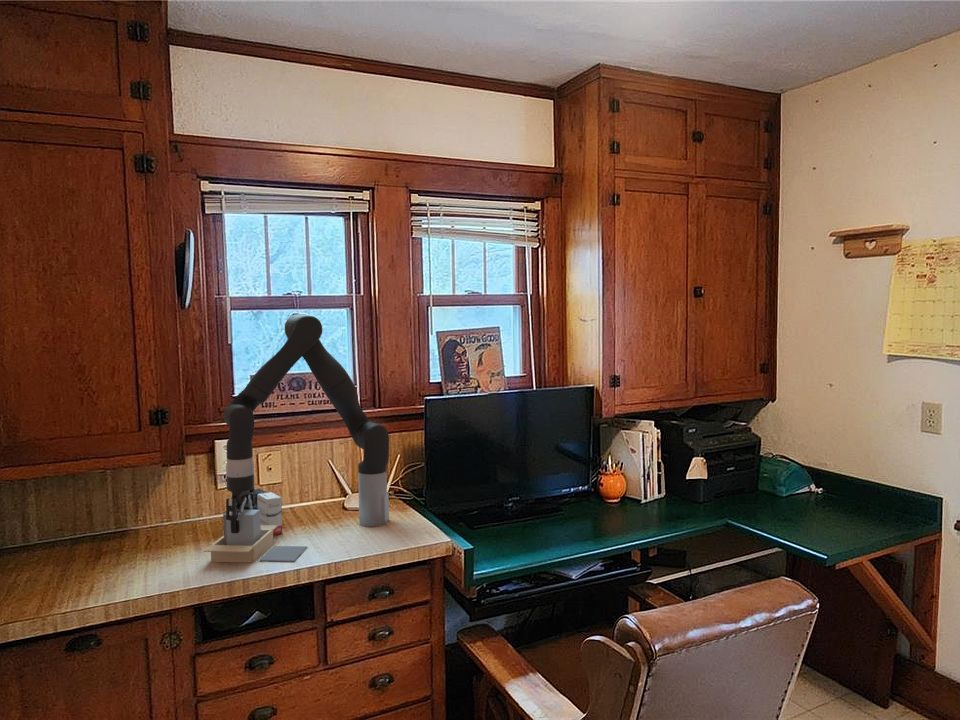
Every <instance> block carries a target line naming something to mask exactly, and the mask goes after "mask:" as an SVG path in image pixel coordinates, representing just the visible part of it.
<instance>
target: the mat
mask: <svg viewBox="0 0 960 720" xmlns="http://www.w3.org/2000/svg"><path fill="white" fill-rule="evenodd" d="M306 548H307V549H308V546H298V545H296V546H295V545H293V546H292V545H273V547H272V548H269V549H268V550H267V551H268V552H267V551H266V552H265V553H264V554H263V555H262V557H260V559H259V562H262V561H265V562H266V561H267V563H268V562H269V563H270V562H274V563H275V562H276V563H295V562H296V561H297V560H298V559H299V558H300V557H301V556H302V554H303V553H304V552H305V551H306V550H307V549H306ZM305 549H306V550H305ZM304 550H305V551H304ZM303 551H304V552H303ZM302 552H303V553H302ZM301 553H302V554H301ZM298 557H299V558H298ZM297 558H298V559H297ZM296 559H297V560H296ZM265 562H264V563H265Z"/></svg>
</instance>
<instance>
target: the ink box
mask: <svg viewBox="0 0 960 720" xmlns="http://www.w3.org/2000/svg"><path fill="white" fill-rule="evenodd" d="M282 498H283V497H281V496H279V495H277V494H275V493H274V492H267V493H262V494H258V495H257V503H258V510H260V523H261V525H278V527H276V528H275V529H274V530H273V536H274V535H275V536H276V535H281V534H283V515H282V514H283V510H282V509H283V508H282ZM280 533H281V534H280Z"/></svg>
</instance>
